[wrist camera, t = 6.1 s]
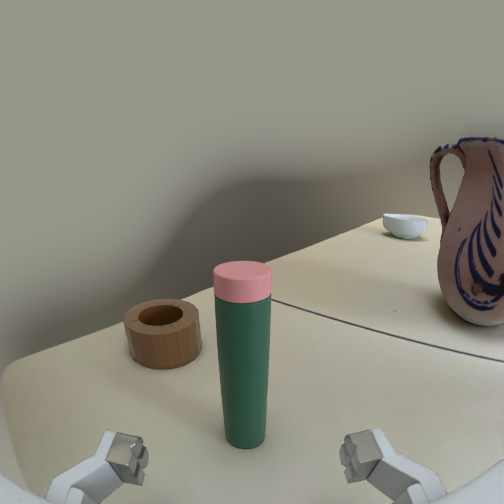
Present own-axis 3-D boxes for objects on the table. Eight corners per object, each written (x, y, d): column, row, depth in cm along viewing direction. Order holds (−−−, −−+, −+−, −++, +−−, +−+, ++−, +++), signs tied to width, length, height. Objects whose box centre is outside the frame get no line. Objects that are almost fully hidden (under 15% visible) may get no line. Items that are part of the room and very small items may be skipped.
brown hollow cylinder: (137, 376, 22) (127, 340, 21) (126, 336, 29) (120, 305, 28) (213, 358, 26) (210, 323, 25) (188, 324, 32) (185, 294, 31)
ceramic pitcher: (518, 356, 19) (554, 141, 12) (391, 308, 35) (406, 127, 29) (521, 309, 28) (541, 162, 22) (429, 280, 45) (440, 149, 39)
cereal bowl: (433, 243, 77) (435, 222, 75) (390, 241, 79) (392, 218, 77) (414, 233, 93) (415, 215, 91) (375, 231, 95) (377, 212, 94)
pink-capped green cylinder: (236, 454, 15) (228, 282, 11) (219, 428, 17) (204, 265, 14) (272, 439, 16) (283, 272, 13) (252, 416, 18) (253, 257, 15)
